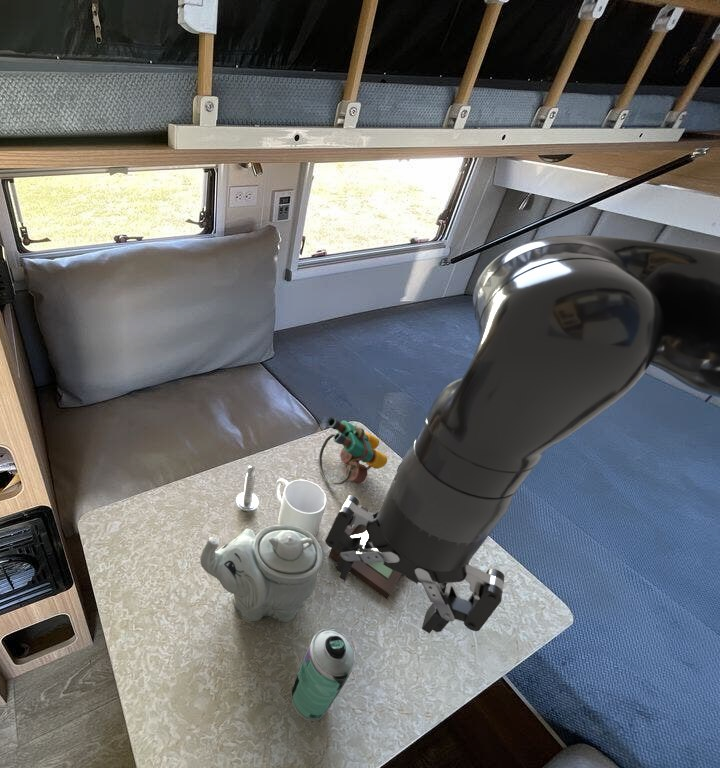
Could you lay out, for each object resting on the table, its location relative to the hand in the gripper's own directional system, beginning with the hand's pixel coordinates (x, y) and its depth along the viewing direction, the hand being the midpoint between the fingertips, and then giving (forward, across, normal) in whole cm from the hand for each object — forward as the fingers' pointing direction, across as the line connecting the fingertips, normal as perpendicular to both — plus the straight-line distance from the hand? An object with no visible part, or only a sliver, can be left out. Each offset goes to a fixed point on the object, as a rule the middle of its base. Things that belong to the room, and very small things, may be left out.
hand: (384, 597), depth 42 cm
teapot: (+32, -16, +7) cm, 37 cm away
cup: (+32, -18, +25) cm, 45 cm away
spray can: (+32, -2, -1) cm, 32 cm away
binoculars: (+32, -14, +46) cm, 58 cm away
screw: (+32, -28, +22) cm, 48 cm away
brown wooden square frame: (+32, -2, +28) cm, 42 cm away
